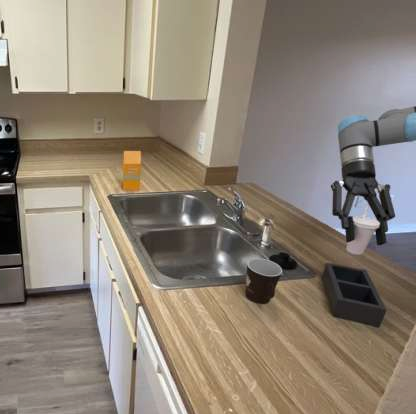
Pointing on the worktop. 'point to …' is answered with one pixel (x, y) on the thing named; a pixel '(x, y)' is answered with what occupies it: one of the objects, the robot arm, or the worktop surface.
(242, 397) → the worktop surface
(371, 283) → the cup holder
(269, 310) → the worktop surface
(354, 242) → the smoothie
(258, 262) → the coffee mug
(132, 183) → the orange juice
